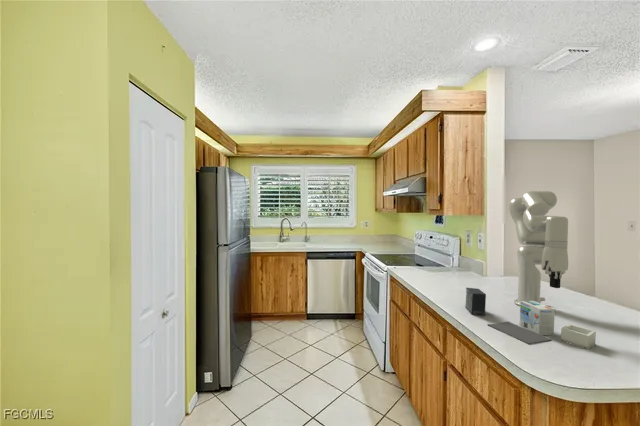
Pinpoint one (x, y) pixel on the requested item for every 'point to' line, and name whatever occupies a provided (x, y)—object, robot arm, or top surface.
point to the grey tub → (578, 336)
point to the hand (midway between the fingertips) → (554, 287)
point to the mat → (519, 332)
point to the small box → (475, 301)
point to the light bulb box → (537, 317)
